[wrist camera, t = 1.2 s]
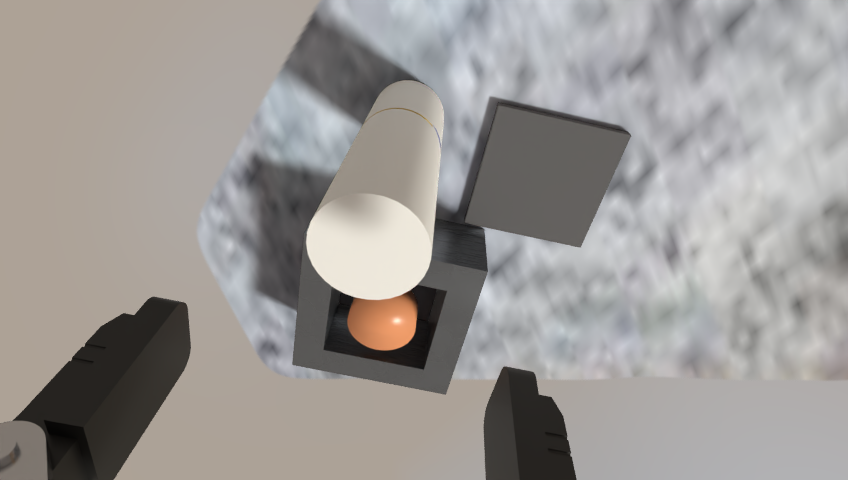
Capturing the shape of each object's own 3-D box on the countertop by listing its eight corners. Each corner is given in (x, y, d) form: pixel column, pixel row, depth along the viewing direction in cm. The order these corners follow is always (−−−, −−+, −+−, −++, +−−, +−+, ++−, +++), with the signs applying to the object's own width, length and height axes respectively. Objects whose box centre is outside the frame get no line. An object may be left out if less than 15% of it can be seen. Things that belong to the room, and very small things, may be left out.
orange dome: (357, 272, 31) (351, 291, 30) (423, 286, 32) (421, 305, 30) (349, 323, 34) (343, 343, 32) (411, 335, 34) (408, 355, 32)
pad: (498, 102, 28) (498, 105, 28) (628, 132, 29) (631, 135, 28) (464, 218, 33) (464, 222, 32) (578, 242, 33) (580, 247, 33)
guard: (324, 195, 32) (304, 233, 28) (484, 229, 33) (487, 271, 29) (311, 317, 38) (292, 364, 34) (447, 344, 39) (445, 394, 34)
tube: (358, 110, 29) (280, 240, 16) (412, 64, 28) (372, 167, 15) (404, 163, 31) (366, 318, 18) (458, 122, 29) (457, 260, 16)
